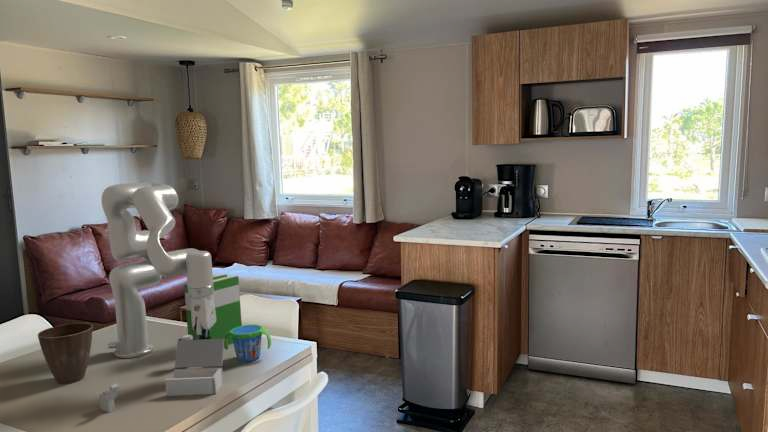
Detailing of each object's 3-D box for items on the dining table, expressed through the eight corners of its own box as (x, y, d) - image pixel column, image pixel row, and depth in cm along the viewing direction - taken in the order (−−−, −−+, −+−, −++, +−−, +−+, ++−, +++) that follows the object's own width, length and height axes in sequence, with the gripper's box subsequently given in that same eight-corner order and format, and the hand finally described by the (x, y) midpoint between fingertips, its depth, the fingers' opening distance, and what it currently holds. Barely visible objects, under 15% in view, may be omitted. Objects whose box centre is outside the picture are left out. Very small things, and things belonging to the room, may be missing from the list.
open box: (166, 396, 161) (165, 379, 160) (176, 384, 168) (175, 369, 168) (215, 393, 161) (214, 377, 160) (223, 382, 169) (222, 367, 168)
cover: (177, 340, 171) (179, 341, 172) (174, 367, 168) (176, 368, 169) (223, 338, 171) (224, 339, 172) (221, 365, 168) (222, 366, 169)
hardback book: (229, 336, 212) (225, 274, 210) (242, 339, 208) (238, 276, 205) (189, 350, 198) (184, 284, 196) (202, 354, 194) (197, 286, 191)
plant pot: (40, 378, 178) (34, 329, 176) (92, 366, 186) (87, 319, 185) (46, 393, 166) (40, 341, 164) (101, 379, 175) (96, 329, 173)
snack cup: (219, 363, 185) (217, 333, 183) (233, 352, 195) (231, 323, 194) (264, 365, 182) (262, 334, 180) (276, 353, 192) (274, 324, 191)
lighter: (100, 409, 154) (97, 381, 153) (106, 406, 155) (104, 378, 154) (115, 415, 150) (112, 386, 149) (121, 412, 151) (118, 383, 150)
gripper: (205, 297, 165) (210, 357, 167) (220, 285, 180) (224, 340, 182) (180, 298, 165) (185, 358, 167) (196, 286, 180) (200, 341, 182)
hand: (205, 348), depth 175 cm, fingers closed
